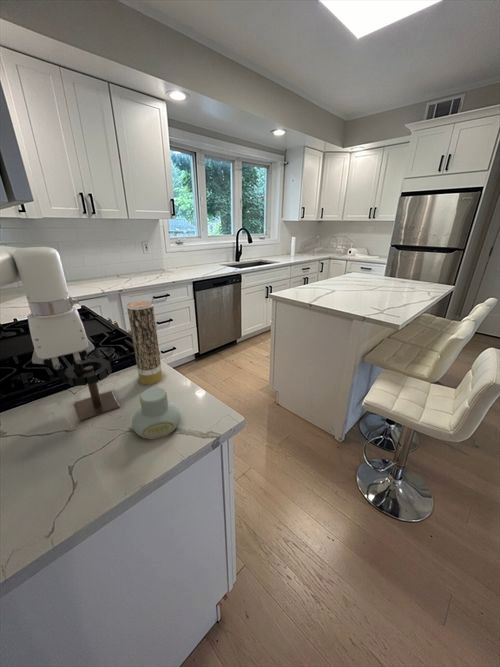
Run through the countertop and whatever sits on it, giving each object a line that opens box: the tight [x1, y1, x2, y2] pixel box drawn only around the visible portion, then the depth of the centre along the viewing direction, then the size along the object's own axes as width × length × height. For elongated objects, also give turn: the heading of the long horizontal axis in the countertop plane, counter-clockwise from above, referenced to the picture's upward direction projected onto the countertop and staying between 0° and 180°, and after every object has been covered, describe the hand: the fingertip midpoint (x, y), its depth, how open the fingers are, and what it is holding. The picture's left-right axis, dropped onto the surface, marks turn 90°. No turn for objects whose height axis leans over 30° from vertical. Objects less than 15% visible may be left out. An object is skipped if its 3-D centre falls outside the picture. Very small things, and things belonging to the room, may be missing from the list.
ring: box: [64, 357, 113, 387], centre depth 69 cm, size 10×10×2 cm
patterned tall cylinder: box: [126, 300, 163, 385], centre depth 82 cm, size 7×7×25 cm
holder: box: [75, 366, 121, 423], centre depth 71 cm, size 9×9×12 cm
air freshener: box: [131, 387, 181, 440], centre depth 65 cm, size 11×8×10 cm
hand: (71, 378), depth 67 cm, fingers closed on ring, 2 cm apart
